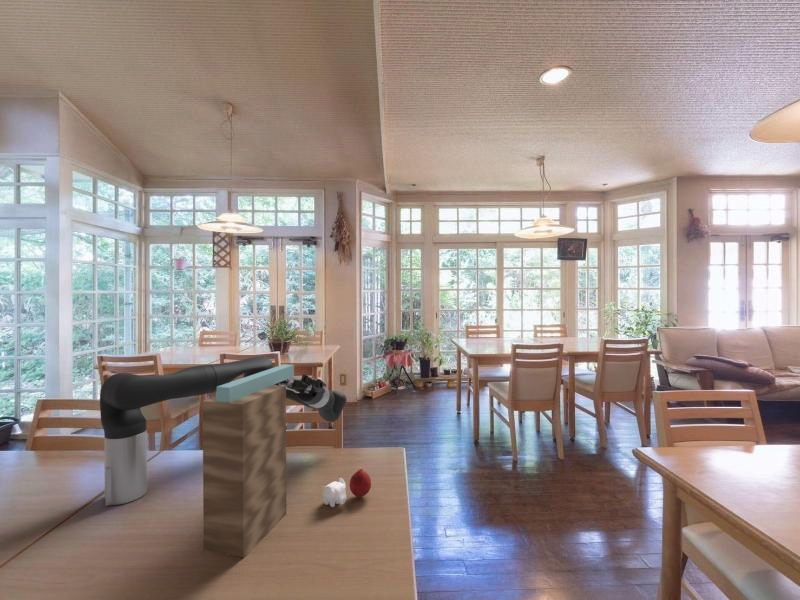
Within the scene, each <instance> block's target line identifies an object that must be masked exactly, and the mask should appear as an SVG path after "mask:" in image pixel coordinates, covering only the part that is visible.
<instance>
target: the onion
mask: <svg viewBox="0 0 800 600" xmlns="http://www.w3.org/2000/svg"><path fill="white" fill-rule="evenodd" d="M371 480H372V479H371V477H370V475H369V473H368V472H366V471H364V468H363V467H358V469H357V471H356V472H354V473H353V475H352V476H351V478H350V480H349V490H350V492H351V493H352V495H354V496H355V497H357V498H359V499H362V498H363V497H365V496H366V495H367V494H368V493H369V492H370V490H371V488H372V481H371Z"/></svg>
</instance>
